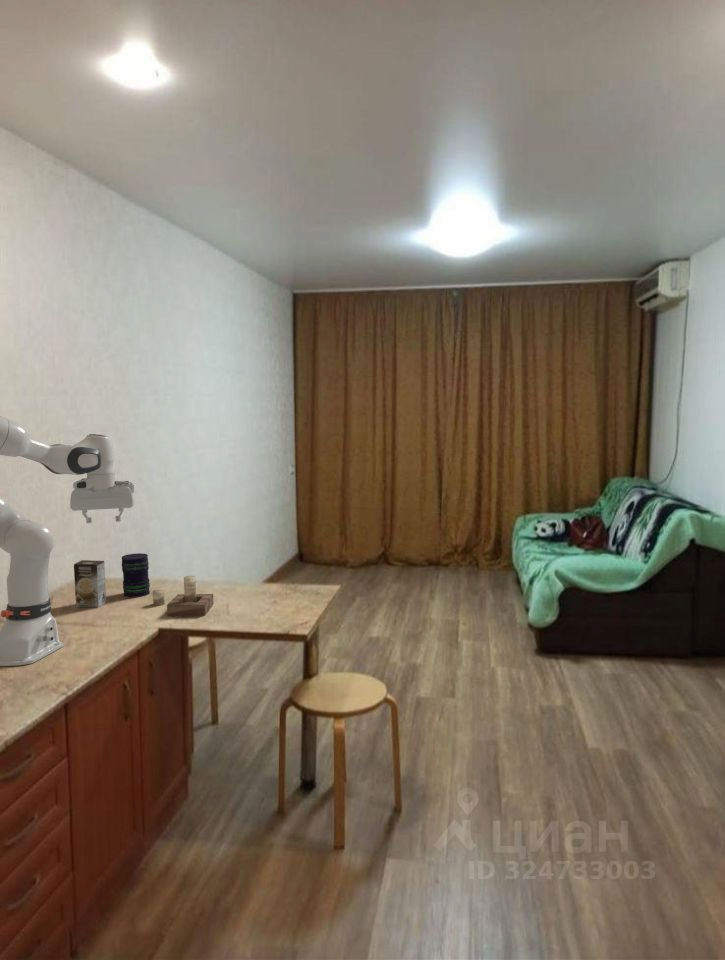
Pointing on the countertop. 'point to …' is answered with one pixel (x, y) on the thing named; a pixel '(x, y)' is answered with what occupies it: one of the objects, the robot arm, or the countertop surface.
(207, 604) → the walnut collar
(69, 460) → the robot arm
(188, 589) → the long pin
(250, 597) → the countertop surface
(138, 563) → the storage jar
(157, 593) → the short pin
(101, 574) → the coffee box
